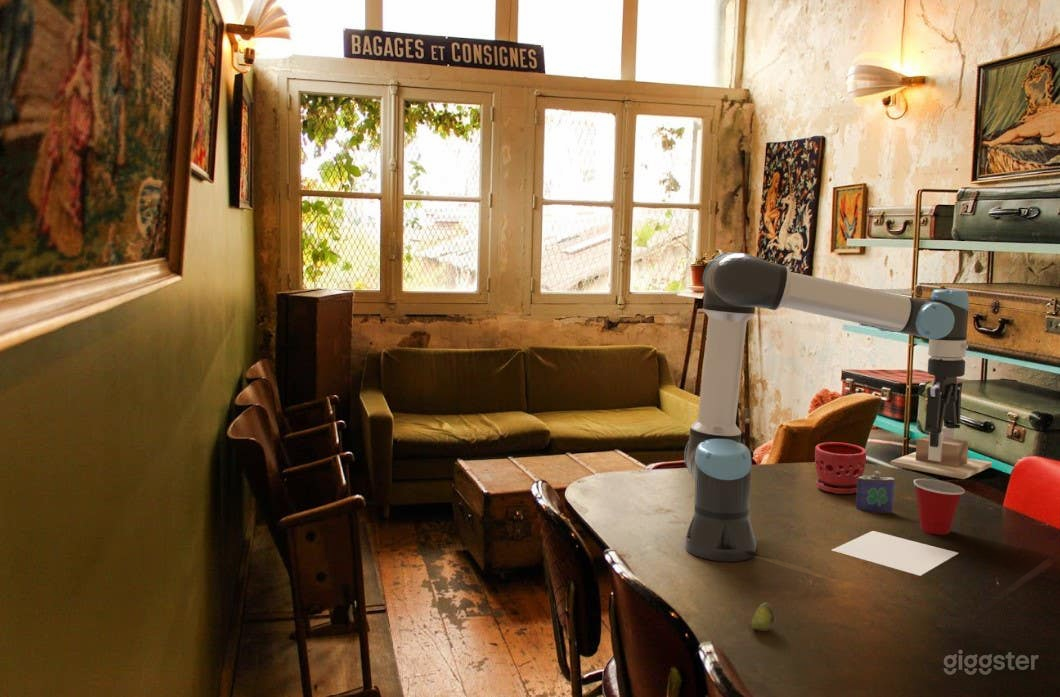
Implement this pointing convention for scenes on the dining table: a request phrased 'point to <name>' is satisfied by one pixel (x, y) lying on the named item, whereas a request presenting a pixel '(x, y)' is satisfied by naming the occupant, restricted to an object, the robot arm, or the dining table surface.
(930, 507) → the plastic cup
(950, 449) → the lid
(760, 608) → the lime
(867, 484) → the flask
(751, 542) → the robot arm
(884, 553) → the mat
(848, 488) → the plant pot
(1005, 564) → the dining table surface
